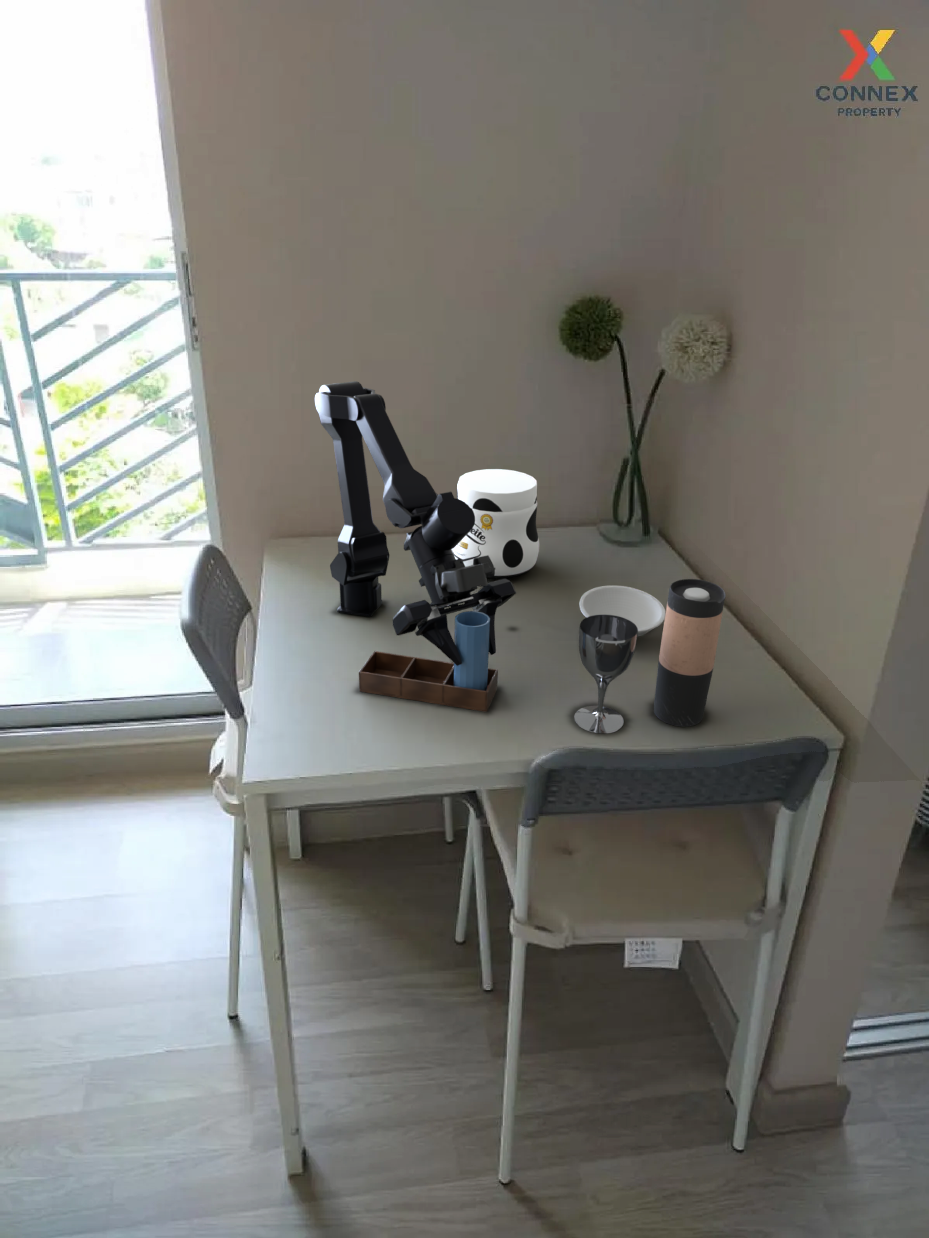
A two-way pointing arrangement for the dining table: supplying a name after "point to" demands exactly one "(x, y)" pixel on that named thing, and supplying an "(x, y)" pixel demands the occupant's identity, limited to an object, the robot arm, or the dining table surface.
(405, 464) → the robot arm
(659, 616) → the dish
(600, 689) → the wine glass
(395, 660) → the caddy
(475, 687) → the tumbler
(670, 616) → the travel mug
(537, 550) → the milk container
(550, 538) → the dining table surface
